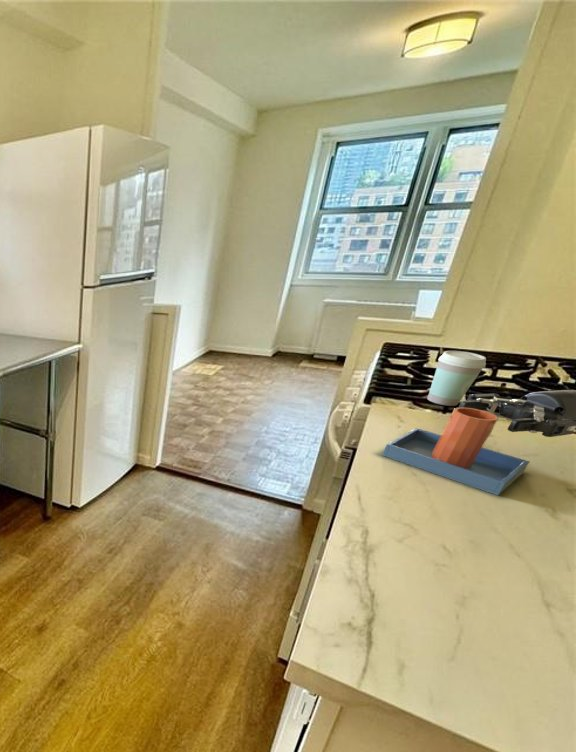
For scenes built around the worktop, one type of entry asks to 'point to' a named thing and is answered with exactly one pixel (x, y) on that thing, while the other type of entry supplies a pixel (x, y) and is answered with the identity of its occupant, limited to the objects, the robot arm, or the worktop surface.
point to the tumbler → (464, 436)
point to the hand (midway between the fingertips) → (485, 416)
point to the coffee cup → (454, 376)
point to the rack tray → (484, 474)
